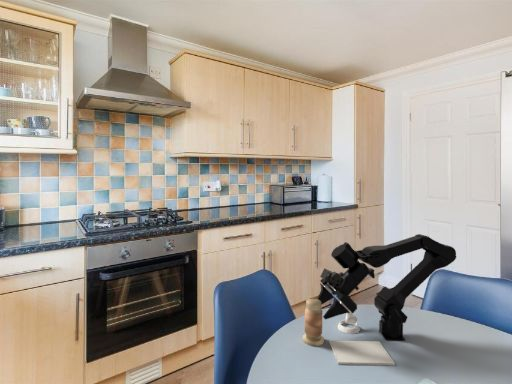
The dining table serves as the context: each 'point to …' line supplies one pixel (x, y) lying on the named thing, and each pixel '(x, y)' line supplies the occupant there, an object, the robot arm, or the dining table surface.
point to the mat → (360, 353)
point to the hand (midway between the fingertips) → (319, 312)
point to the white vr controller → (349, 320)
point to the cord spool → (313, 323)
